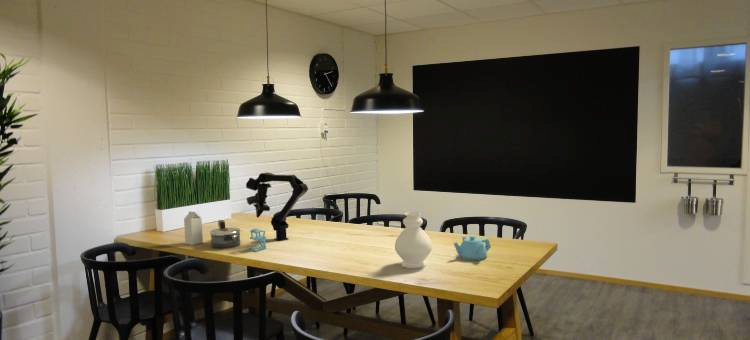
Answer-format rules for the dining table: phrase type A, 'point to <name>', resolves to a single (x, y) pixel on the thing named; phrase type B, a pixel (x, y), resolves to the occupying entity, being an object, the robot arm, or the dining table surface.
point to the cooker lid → (224, 230)
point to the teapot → (472, 248)
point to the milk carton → (193, 229)
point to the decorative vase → (413, 242)
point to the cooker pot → (225, 241)
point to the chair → (259, 238)
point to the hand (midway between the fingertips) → (257, 217)
